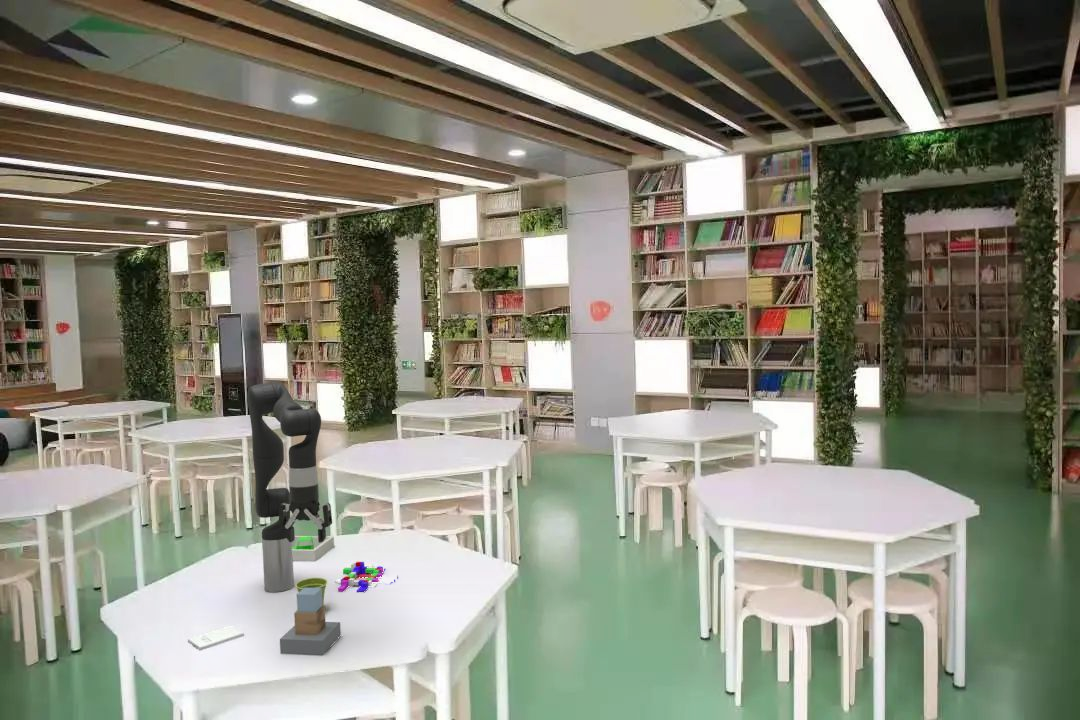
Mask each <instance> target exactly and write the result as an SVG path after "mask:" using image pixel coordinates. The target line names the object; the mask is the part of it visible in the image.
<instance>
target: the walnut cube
mask: <svg viewBox="0 0 1080 720" xmlns="http://www.w3.org/2000/svg"><path fill="white" fill-rule="evenodd" d="M325 606H326V605H325V604H323V606H322V607H321V608H320V609H319V610H318V611H317V612H316V613H302V612H297V610H296V611H295V612H294V613H293V614H294V617H293V619H294V626H295V635H317V634H318V633H319V632H320V631H321V630H322V629H323V628H324V627H325V626H326V625H325V622H326V608H325Z"/></svg>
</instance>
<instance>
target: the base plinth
mask: <svg viewBox="0 0 1080 720" xmlns="http://www.w3.org/2000/svg"><path fill="white" fill-rule="evenodd" d="M325 625H326V626H325V627H324V628H323V629H322V630H321V631H320V632H319V633H318V634H317V635H295V625H293V626H292V627H291V628H290V629H289V630H288V631H287V632H286V633H284V635H282V636H281V637H280V638H279V651H280V652H279V653H280V654H282V655H283V654H286V655H305V656H306V655H308V656H324V655H325V654H324V653H325V652H328V651H329V650H330V648H331V647H332V646H333V645H334V644H335V643H336V642H337V641H338V640H339V639H338V637H339V636H340V635H341V633H342V632H341V622H340V621H325ZM341 636H342V635H341ZM341 636H340V637H341ZM340 637H339V638H340ZM337 639H338V640H337ZM336 640H337V641H336ZM335 641H336V642H335ZM334 642H335V643H334ZM333 643H334V644H333ZM332 644H333V645H332ZM331 645H332V646H331ZM330 646H331V647H330Z"/></svg>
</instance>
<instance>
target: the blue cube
mask: <svg viewBox="0 0 1080 720" xmlns="http://www.w3.org/2000/svg"><path fill="white" fill-rule="evenodd" d="M323 605H324V603H323V604H322V588H303V589H302V590H301V591H300V592H298V593H296V607H297V610H296V611H297V612H302V613H316V612H317V611H318V610H319V609H320V608H321V607H322V606H323Z"/></svg>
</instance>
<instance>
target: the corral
mask: <svg viewBox="0 0 1080 720" xmlns="http://www.w3.org/2000/svg"><path fill="white" fill-rule="evenodd" d="M311 536H312V539H313V544H314V549H313V550H305V549H292V556H293V562H316V561H318V559H321V558H322V556H324V555H326V554H327V553H328V552H330V550H332V549H333V548H334V547H335V537H334V536H328V535H326V538H325V540H324V541H323V542H322V543H319V542H318V535H316V536H315V535H295V540H294V541H293V542H292V547H296V546H297V545H298V541H299V539H300V537H311ZM312 539H311V544H310V540H308V541H300V542H299V546H306V545H313V544H312Z"/></svg>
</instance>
